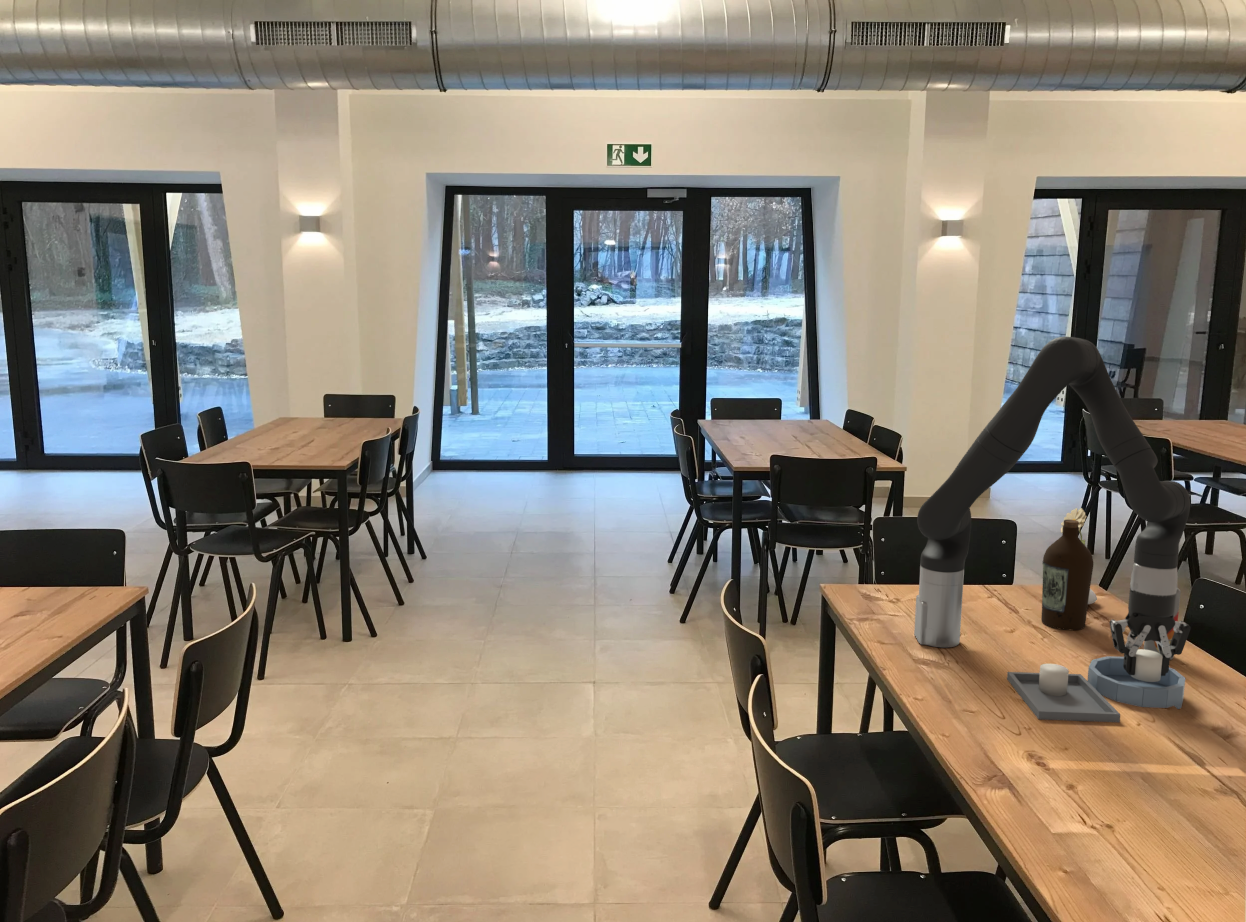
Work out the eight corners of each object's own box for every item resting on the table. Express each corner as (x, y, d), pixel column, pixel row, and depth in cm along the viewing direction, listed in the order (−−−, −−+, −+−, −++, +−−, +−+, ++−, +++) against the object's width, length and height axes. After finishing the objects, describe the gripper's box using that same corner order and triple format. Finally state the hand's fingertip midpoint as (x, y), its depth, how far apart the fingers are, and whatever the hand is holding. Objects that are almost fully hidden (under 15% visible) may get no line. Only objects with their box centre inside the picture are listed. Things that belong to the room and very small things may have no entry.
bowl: (1108, 710, 171) (1110, 687, 170) (1075, 676, 186) (1077, 655, 186) (1199, 713, 169) (1201, 690, 168) (1157, 679, 185) (1160, 657, 184)
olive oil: (1061, 613, 224) (1069, 514, 220) (1098, 627, 214) (1107, 523, 210) (1028, 619, 220) (1035, 518, 216) (1064, 634, 210) (1073, 528, 206)
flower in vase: (1044, 593, 240) (1051, 499, 236) (1093, 597, 236) (1101, 502, 232) (1049, 608, 228) (1057, 510, 223) (1100, 613, 224) (1109, 513, 220)
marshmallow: (1043, 695, 175) (1045, 673, 174) (1034, 684, 180) (1036, 663, 179) (1070, 696, 175) (1072, 674, 174) (1061, 685, 179) (1063, 664, 179)
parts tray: (1038, 724, 165) (1039, 711, 165) (1006, 683, 183) (1007, 671, 183) (1119, 727, 164) (1120, 714, 164) (1079, 686, 182) (1080, 674, 181)
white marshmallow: (1137, 681, 172) (1139, 658, 171) (1125, 671, 176) (1127, 648, 176) (1165, 682, 171) (1167, 659, 170) (1152, 671, 176) (1154, 649, 175)
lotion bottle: (1178, 661, 194) (1187, 570, 190) (1148, 659, 195) (1157, 569, 192) (1168, 651, 199) (1177, 562, 196) (1139, 649, 200) (1148, 561, 197)
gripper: (1183, 582, 174) (1175, 667, 177) (1104, 580, 175) (1097, 665, 178) (1204, 594, 167) (1195, 683, 169) (1121, 593, 168) (1114, 680, 171)
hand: (1145, 673), depth 174 cm, fingers closed on white marshmallow, 5 cm apart
